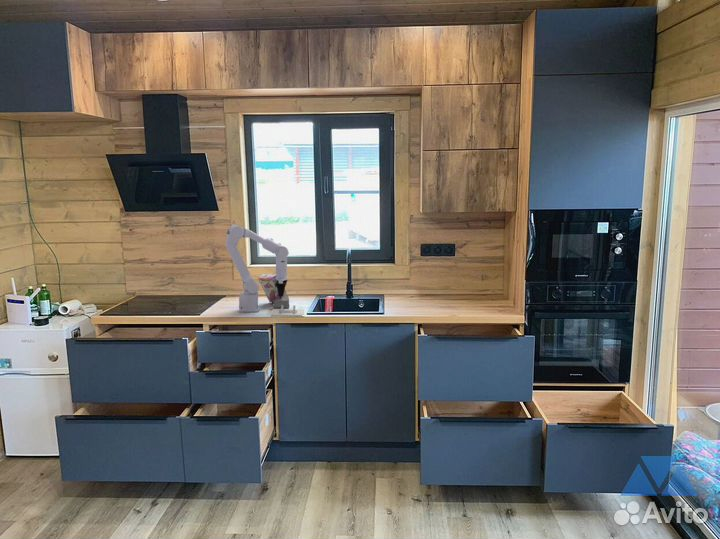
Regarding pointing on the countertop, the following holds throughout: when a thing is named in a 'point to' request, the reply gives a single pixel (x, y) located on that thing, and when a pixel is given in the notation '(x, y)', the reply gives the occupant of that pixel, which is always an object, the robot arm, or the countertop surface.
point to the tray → (287, 312)
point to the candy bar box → (270, 287)
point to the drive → (280, 303)
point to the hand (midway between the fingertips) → (281, 295)
